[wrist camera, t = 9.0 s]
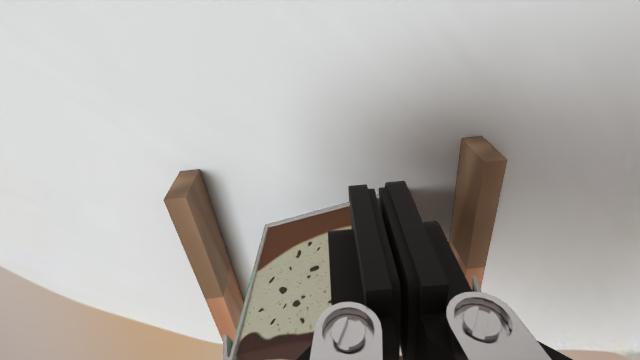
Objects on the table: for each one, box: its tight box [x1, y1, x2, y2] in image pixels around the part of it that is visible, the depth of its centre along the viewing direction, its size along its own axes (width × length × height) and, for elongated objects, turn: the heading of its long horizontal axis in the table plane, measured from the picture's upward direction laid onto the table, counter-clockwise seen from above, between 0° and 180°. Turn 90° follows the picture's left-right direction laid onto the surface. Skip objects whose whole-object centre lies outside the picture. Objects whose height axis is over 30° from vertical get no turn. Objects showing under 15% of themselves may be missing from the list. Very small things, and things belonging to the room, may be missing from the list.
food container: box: [223, 194, 482, 360], centre depth 20 cm, size 12×6×10 cm, turn 106°
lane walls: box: [164, 136, 507, 342], centre depth 23 cm, size 18×13×3 cm
